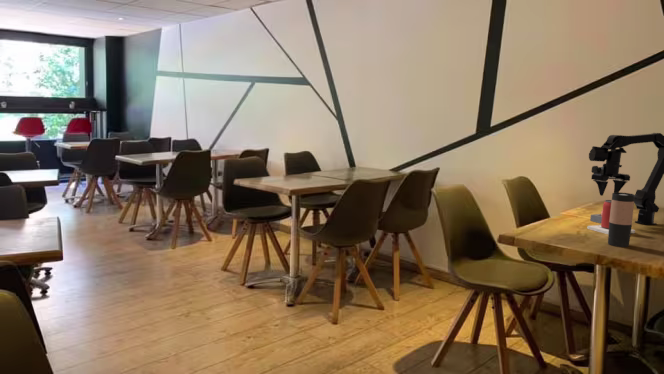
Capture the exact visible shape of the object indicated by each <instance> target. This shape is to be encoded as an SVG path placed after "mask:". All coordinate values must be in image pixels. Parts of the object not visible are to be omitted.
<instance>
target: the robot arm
mask: <svg viewBox="0 0 664 374" xmlns="http://www.w3.org/2000/svg"><path fill="white" fill-rule="evenodd" d="M644 143H653V145H654V146H655V147H656V148H657V149H658V150H657V160H656V162H655V165H654V167H653V169H652V171H651V172H650V175H649V177H648V179H647V181H646V183H645V184H644V187H643V188H641V189H636V190H635V194H634V195H635V198H634V204H635V205H634V206H636V209H637V210H638V215H637V220H635V221H634V223H637V224H641V225H646V226H649V225H657V222H654V221H655V213H658V212H659V209H660V208H659V206H658V205H657V203H655V202H656V199H657V198H656V191H657V189H658V187H659V185H660V182H661V181H662V179H663V177H664V134H662V133H661V132H652V133H643V134H635V135H634V134H633V135H621V134H610V135H609V136H608V137H607V138H606V141H605V142H604V143H603V144H602V145H600V146H591V149H590V151H589V153H588V160H589V161H590V162H602V163H603V162H605V163H603V164H602V166H600V167H599V166H598V165H593V166H592V167H591V173H592V174H591V180H593V182H595V183H596V184H597V187H598V193H599V195H600V196H604V193H605V192H606V191H605V190H606V189H607V186H608V183H609V181H608V180H612V182H613V184H614V186H613V187H614V189H613V193H616V192H619V193H620V191H621V190H622V188H623V187H624V186H625V185H626V184H627V183H628V182H630V180H631V175H630V174H627V173H620V172H619V171H620V168H622V167H623V165H622V164H621V159H622V154H627V151H626V150H625V149H624V147H627V146H629V145H635V144H644Z"/></svg>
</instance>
